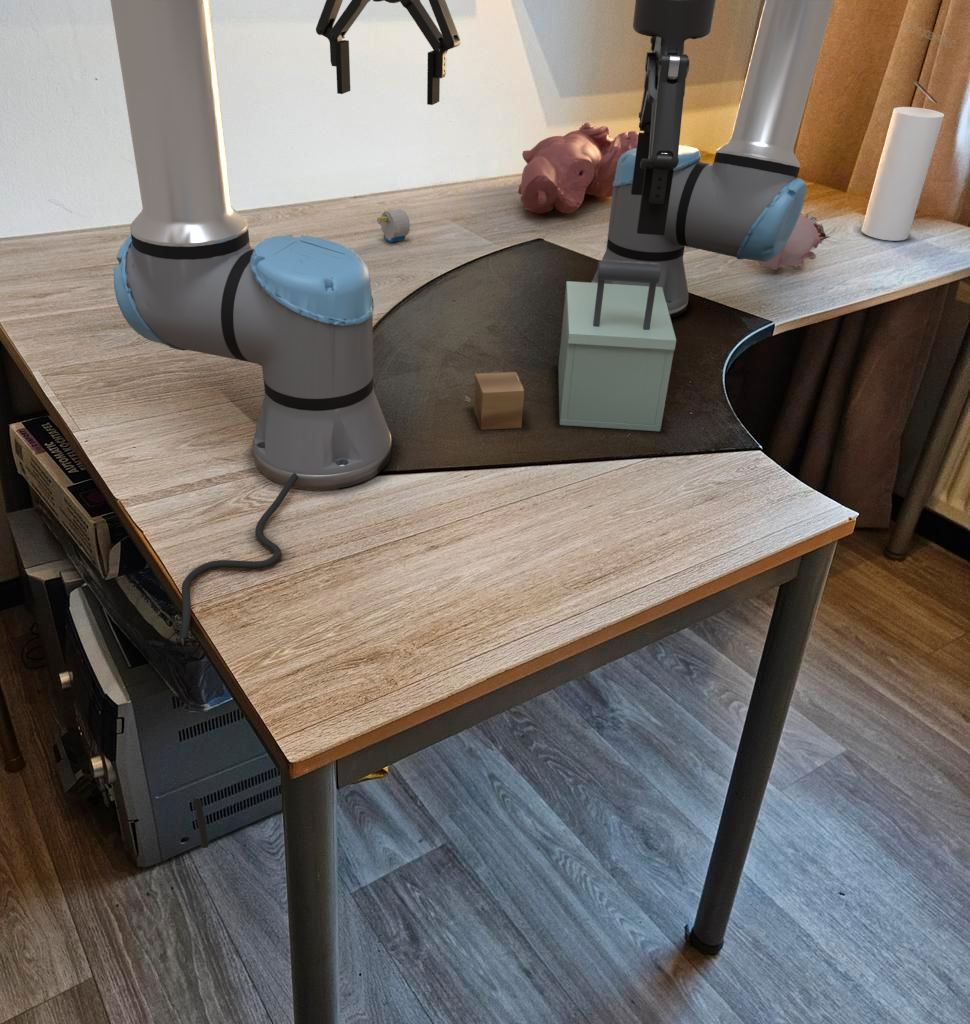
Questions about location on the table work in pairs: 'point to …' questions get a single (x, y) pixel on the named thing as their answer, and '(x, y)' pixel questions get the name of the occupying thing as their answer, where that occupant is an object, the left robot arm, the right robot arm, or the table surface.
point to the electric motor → (394, 225)
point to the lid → (620, 308)
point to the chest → (612, 385)
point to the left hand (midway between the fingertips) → (388, 97)
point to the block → (498, 400)
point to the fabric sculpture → (572, 168)
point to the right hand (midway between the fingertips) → (646, 213)
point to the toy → (799, 244)
